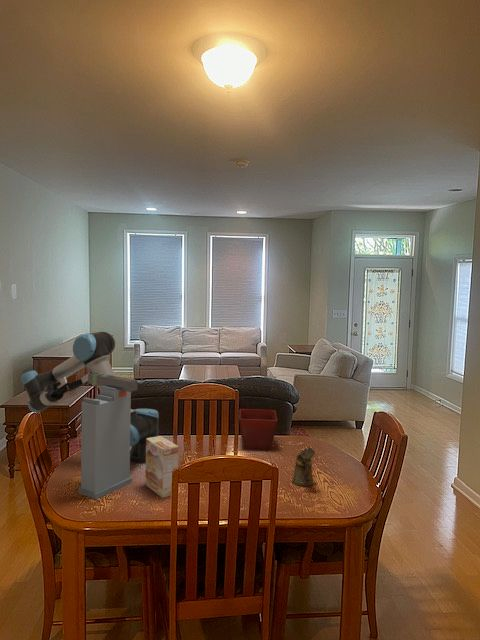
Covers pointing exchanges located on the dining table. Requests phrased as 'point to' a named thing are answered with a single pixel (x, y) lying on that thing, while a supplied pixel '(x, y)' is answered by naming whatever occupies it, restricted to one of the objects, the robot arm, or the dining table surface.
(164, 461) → the coffeecake box
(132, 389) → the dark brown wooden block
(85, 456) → the stand
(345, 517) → the dining table surface
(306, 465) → the dark green figurine
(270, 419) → the plant pot
